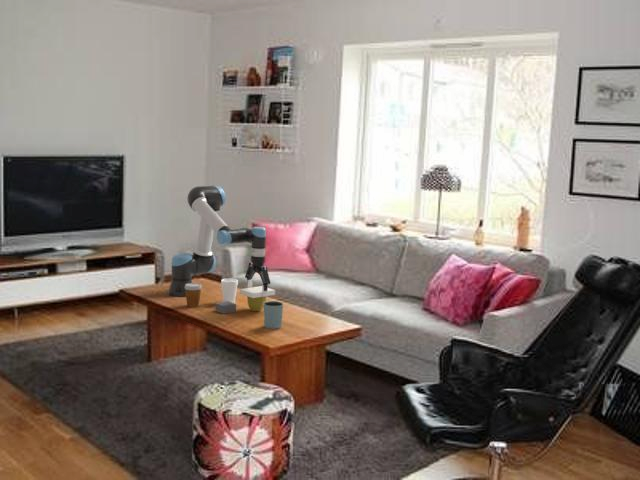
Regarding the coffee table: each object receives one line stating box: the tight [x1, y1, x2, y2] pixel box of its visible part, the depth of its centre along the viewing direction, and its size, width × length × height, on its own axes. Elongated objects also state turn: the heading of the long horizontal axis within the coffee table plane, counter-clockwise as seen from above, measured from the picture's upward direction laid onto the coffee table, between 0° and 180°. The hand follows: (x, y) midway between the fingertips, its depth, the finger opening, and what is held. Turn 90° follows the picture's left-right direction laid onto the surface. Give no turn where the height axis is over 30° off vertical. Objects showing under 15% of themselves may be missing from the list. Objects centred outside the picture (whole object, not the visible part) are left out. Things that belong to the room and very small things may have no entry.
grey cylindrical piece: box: [262, 300, 284, 330], centre depth 366 cm, size 10×10×12 cm
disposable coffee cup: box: [184, 282, 203, 308], centre depth 399 cm, size 10×10×12 cm
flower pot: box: [246, 296, 267, 312], centre depth 397 cm, size 9×9×9 cm
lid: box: [239, 285, 276, 298], centre depth 396 cm, size 12×15×2 cm
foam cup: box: [220, 278, 239, 304], centre depth 409 cm, size 10×9×13 cm
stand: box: [214, 301, 237, 314], centre depth 392 cm, size 8×8×4 cm
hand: (257, 293), depth 396 cm, fingers open, 13 cm apart
